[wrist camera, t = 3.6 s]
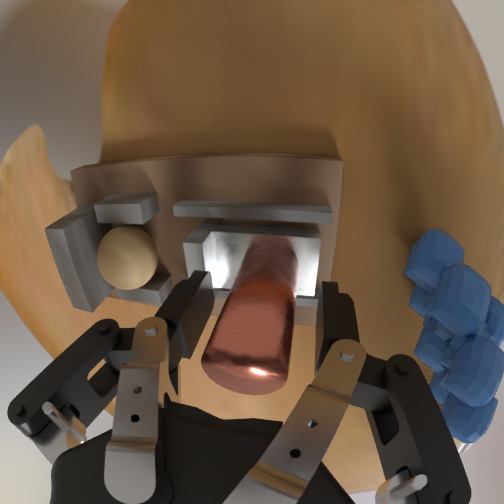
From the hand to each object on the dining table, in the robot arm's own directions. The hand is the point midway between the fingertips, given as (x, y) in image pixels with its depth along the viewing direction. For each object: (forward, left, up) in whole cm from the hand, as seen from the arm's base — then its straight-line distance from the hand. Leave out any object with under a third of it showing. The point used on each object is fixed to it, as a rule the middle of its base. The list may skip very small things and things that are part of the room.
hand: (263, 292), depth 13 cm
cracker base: (+5, 0, -5) cm, 8 cm away
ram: (+1, 0, -4) cm, 4 cm away
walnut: (+9, 0, -4) cm, 10 cm away
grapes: (-12, +2, -6) cm, 13 cm away
